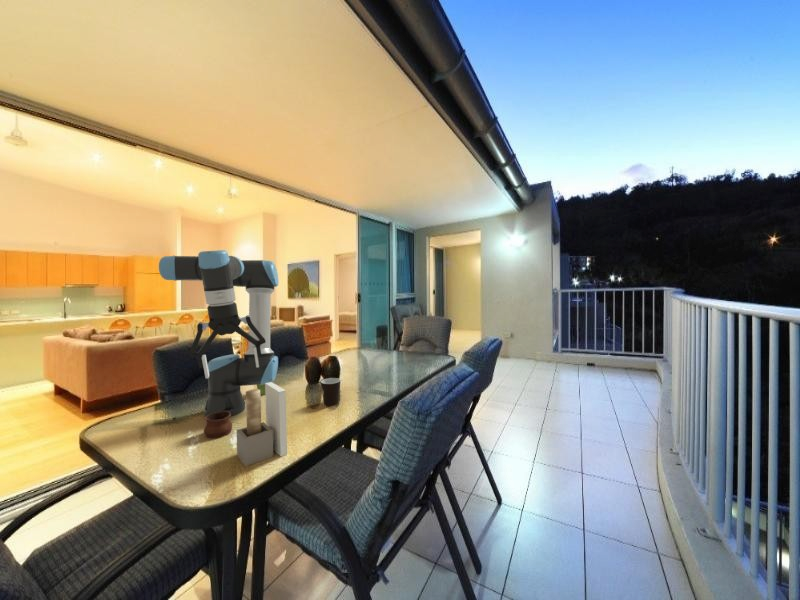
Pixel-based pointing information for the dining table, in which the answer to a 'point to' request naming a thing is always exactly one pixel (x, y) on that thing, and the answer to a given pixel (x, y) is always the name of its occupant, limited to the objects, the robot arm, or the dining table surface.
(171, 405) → the dining table surface
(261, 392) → the plant pot
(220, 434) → the ceramic pot
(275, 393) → the cup bracket
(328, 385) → the coffee mug
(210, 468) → the dining table surface
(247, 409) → the oak rail
